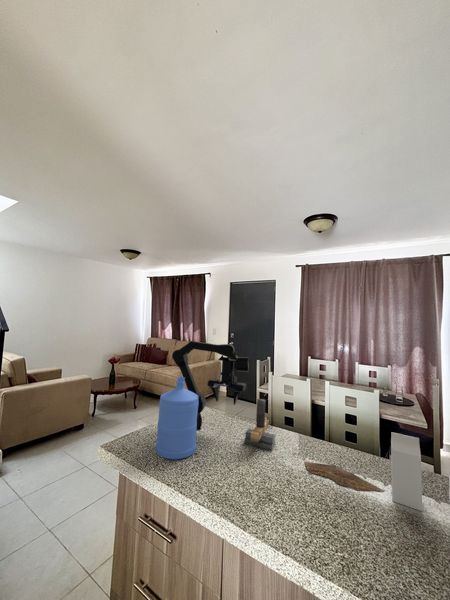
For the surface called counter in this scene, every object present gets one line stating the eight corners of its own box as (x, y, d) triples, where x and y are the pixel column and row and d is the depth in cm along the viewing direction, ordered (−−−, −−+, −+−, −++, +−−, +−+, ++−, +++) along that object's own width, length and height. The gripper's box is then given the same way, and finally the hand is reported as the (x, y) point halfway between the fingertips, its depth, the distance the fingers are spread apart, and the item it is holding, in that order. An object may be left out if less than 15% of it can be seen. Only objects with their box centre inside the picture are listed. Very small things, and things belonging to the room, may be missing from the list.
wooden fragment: (298, 469, 90) (298, 466, 90) (308, 458, 99) (308, 455, 99) (382, 503, 75) (382, 499, 75) (385, 486, 83) (385, 483, 83)
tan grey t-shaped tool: (258, 442, 99) (259, 406, 101) (249, 440, 101) (251, 404, 102) (269, 427, 116) (270, 396, 117) (261, 425, 117) (262, 394, 119)
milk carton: (422, 512, 71) (420, 442, 73) (392, 501, 75) (391, 435, 77) (419, 498, 77) (417, 434, 79) (391, 489, 81) (390, 428, 83)
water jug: (184, 464, 89) (189, 384, 92) (147, 455, 94) (153, 379, 97) (201, 445, 104) (206, 376, 107) (168, 438, 109) (173, 372, 112)
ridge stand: (244, 443, 108) (244, 432, 108) (248, 438, 113) (249, 427, 114) (271, 450, 103) (272, 439, 103) (275, 444, 108) (275, 433, 109)
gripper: (250, 370, 126) (249, 402, 124) (217, 366, 133) (215, 396, 132) (243, 373, 116) (241, 408, 114) (207, 368, 123) (205, 401, 122)
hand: (225, 403), depth 121 cm, fingers open, 9 cm apart
